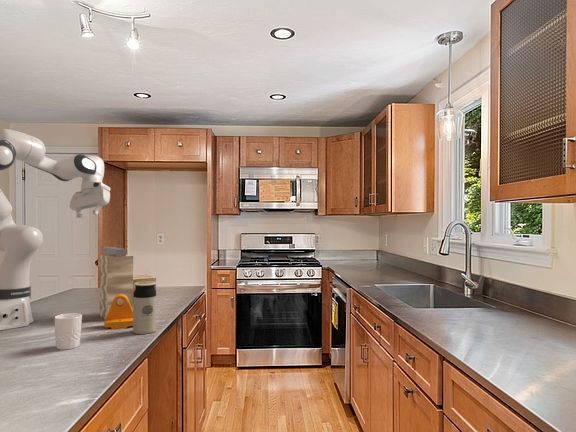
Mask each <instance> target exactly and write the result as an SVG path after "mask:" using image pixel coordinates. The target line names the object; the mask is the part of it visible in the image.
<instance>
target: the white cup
mask: <svg viewBox="0 0 576 432" xmlns="http://www.w3.org/2000/svg"><path fill="white" fill-rule="evenodd" d="M82 321H83V314H82V313H79V312H78V313H76V312H75V313H74V312H72V313H62V314H58V315H55V316H54V333H55V334H54V335H55V348H56V349H57V350H60V351H62V350H63V351H64V350H72V349H76V348H79V347H80V345H81V335H82V323H83V322H82Z"/></svg>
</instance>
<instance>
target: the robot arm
mask: <svg viewBox="0 0 576 432" xmlns="http://www.w3.org/2000/svg"><path fill="white" fill-rule="evenodd" d="M46 151H47V150H46V145H45V144H44V142H43V141H42V140H41V139H39V138H37V137H36V136H33V135H30V134H28V133H24V132H22V131H19V130H16V129H15V130H14V129H9V128H0V171H3V170H7V169H8V168H10V167H12V166H13V164H14V162H15V160H18V161H19V162H20V161H21V162H24V163H25V164H26V165H28V166H31V167H33V168H35V169H37V170H40V171H42V172H45V173H48V174H51V175H52V176H53V177H54V178H55V179H57V180H59V181H61V182H69V181H72V180H73V179H77V178H81V179H82V180H81V186H80V191H75V193H74V194H73V195H72V196H71V199H70V201H69V205H68V206H69V209H70V210H72V211H75V213H76V218H78V219H81V218H82V217H83V214H82V213H81V212H82V210H86V209H92V208H94V210H93V209H92V211H93V212H92V215H96V216H97V215H99V213H100V211H101V209H102V206H106V205H109V204H110V199H111V192H110V191H111V187H110V186H108V185H107V184H104V183H103V179H104V175H105V162H104V160H103V159H102V158H101V157H100V156H96V155H85V154H81V153H80V154H75V155H72V156H69V157H67V158H64V159H60V160H56V159H55V160H54V159H52V158H50V157H48V156H46ZM12 211H13V206H12V204H11V203H10V201H9V200H8V198H7V196H6V195H5V193H4V192H3V190H2V189H1V188H0V252H1V253H4V255H3V257H2V261H1V263H0V331H4V330H11V329H16V328H17V329H18V328H21V327H27V326H29V325H30V324H32V323H33V322H34V321H35V320H34V316H33V314H32V308H31V298H32V297H31V296H32V294H31V293H32V290H31V289H32V287H31V285H30V283H31V282H30V279H31V265H32V262H33V260H34V259H33V258H34V256H35V254H36V252H37V251H38V250H39V249H40V248H41V246H42V244H43V243H44V242H43V241H44V236H43V233H42V231H41V230H40V229H38V228H37V227H34V226H32V225H27V224H17V223H16V222H15V221H14V219H13V216H12Z"/></svg>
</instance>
